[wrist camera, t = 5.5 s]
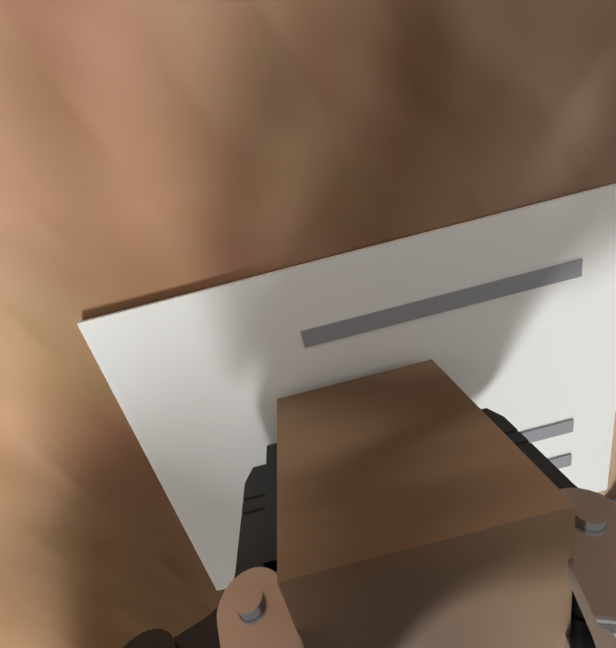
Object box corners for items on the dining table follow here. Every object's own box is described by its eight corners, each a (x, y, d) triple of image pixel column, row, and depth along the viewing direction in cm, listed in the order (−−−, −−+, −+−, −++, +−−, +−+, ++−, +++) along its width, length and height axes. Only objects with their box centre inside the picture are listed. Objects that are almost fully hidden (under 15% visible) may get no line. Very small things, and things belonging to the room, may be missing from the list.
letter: (633, 178, 9) (642, 178, 9) (602, 485, 13) (608, 490, 13) (80, 320, 9) (75, 324, 9) (217, 585, 13) (216, 592, 13)
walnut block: (431, 359, 10) (575, 505, 5) (447, 480, 11) (568, 678, 7) (277, 399, 10) (277, 581, 5) (313, 514, 11) (339, 736, 7)
